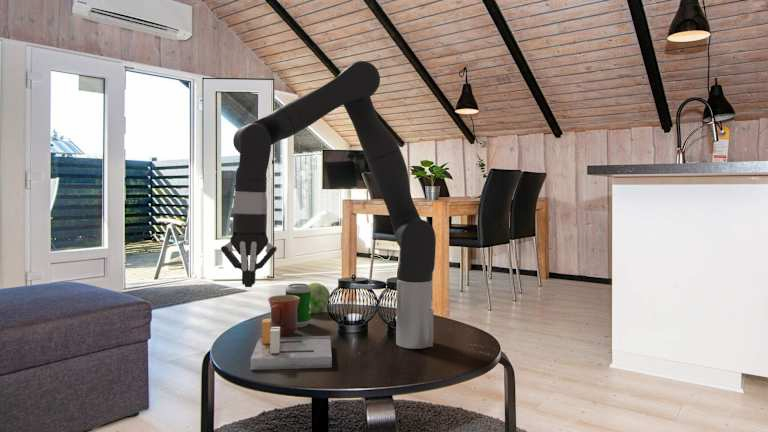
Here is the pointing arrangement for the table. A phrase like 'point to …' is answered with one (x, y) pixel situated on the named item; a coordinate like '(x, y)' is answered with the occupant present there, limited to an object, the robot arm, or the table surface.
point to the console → (294, 354)
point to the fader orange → (266, 330)
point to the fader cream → (275, 340)
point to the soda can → (301, 302)
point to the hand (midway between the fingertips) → (248, 286)
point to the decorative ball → (318, 297)
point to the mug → (284, 313)
